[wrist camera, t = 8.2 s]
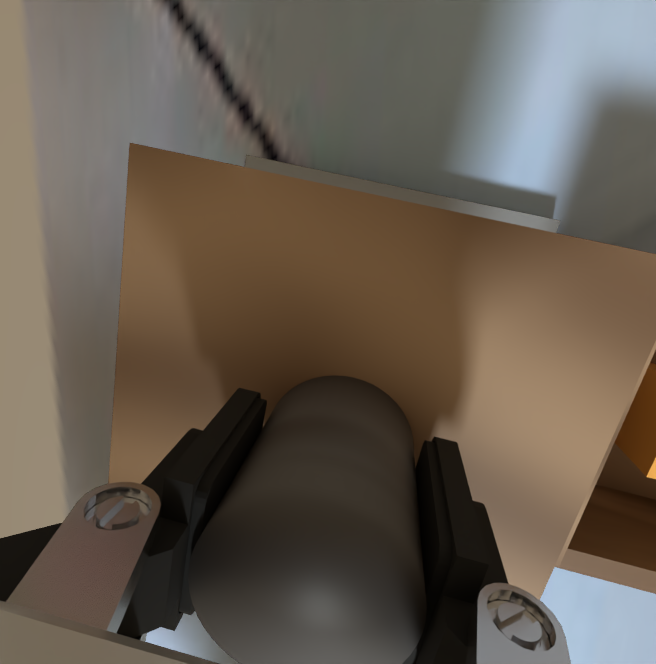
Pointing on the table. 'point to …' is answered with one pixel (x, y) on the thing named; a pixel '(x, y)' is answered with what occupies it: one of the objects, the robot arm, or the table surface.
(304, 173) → the mat
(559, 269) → the lid
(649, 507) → the storage box
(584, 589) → the table surface
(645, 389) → the block
